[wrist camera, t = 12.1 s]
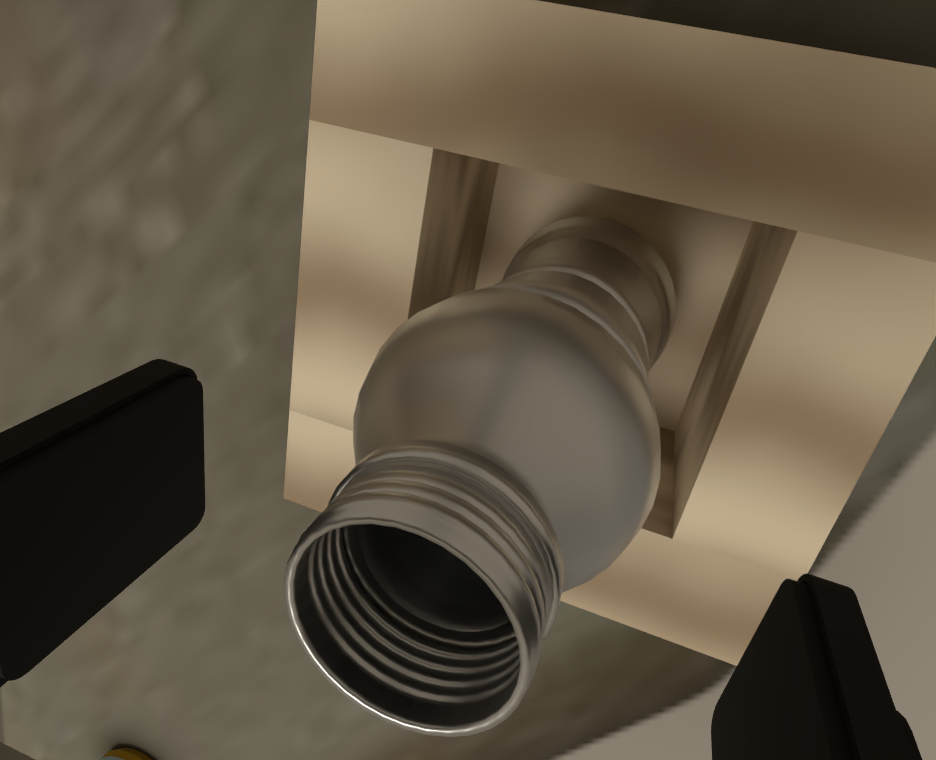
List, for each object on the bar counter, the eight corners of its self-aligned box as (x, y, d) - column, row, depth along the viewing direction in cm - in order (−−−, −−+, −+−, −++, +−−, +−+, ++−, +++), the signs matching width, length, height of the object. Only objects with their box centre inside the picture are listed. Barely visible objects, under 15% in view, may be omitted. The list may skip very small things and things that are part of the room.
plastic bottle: (566, 389, 28) (363, 837, 10) (489, 256, 27) (114, 504, 9) (706, 325, 25) (755, 793, 7) (626, 174, 24) (464, 304, 6)
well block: (434, 15, 25) (320, -37, 17) (923, 103, 21) (1067, 90, 13) (380, 407, 33) (283, 498, 25) (733, 522, 29) (753, 672, 21)
